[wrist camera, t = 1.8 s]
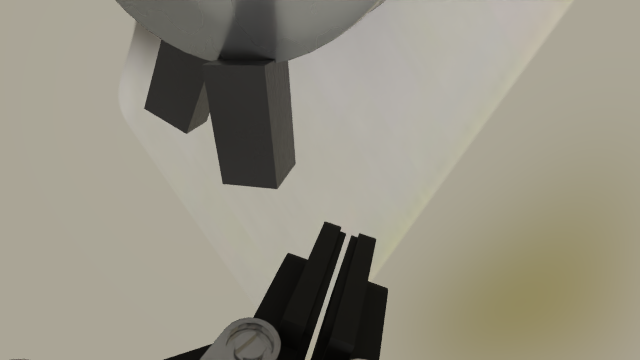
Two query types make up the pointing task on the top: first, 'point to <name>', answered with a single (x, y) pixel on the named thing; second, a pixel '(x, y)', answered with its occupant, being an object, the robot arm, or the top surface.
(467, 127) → the top surface
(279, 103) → the cooker lid
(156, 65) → the cooker pot
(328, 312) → the robot arm
